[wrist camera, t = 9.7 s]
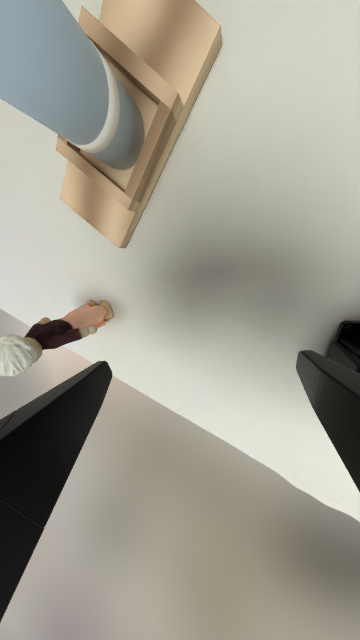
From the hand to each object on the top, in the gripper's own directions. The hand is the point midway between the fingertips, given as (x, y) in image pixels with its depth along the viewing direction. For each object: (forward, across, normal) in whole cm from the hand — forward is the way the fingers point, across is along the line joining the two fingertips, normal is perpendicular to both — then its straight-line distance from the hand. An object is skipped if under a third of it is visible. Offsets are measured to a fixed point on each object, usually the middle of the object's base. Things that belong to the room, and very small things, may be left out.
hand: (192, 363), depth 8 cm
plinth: (+14, +5, -14) cm, 20 cm away
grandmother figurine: (+14, +14, +2) cm, 20 cm away
